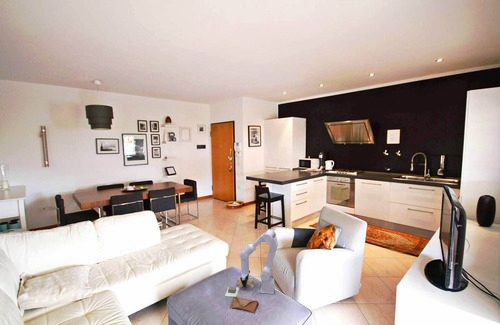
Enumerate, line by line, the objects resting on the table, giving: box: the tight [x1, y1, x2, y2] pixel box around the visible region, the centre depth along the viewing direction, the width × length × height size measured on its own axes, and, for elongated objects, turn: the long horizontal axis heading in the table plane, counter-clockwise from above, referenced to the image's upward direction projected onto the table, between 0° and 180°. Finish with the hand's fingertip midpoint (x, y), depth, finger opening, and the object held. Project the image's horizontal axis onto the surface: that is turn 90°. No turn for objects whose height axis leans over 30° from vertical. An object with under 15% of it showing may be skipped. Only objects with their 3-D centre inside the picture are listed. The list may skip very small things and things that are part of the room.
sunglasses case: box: [229, 296, 260, 314], centre depth 148 cm, size 18×7×7 cm, turn 74°
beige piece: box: [236, 277, 255, 288], centre depth 169 cm, size 12×3×5 cm, turn 84°
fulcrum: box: [224, 286, 240, 298], centre depth 162 cm, size 8×10×3 cm
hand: (245, 283), depth 169 cm, fingers open, 7 cm apart
